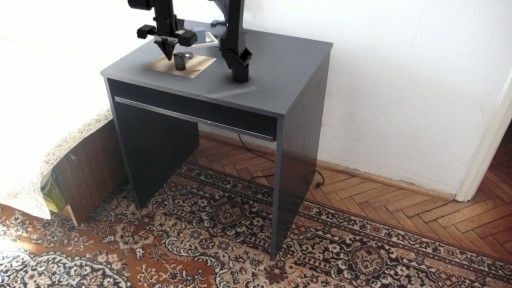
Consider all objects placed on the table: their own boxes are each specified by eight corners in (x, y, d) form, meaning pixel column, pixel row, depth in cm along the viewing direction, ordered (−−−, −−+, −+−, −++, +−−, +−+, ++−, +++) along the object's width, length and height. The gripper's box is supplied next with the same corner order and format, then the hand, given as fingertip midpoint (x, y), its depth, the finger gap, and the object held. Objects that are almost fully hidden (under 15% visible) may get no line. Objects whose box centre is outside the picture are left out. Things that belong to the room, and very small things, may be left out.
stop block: (206, 45, 136) (205, 29, 132) (196, 46, 135) (194, 31, 131) (203, 41, 139) (202, 26, 135) (193, 42, 138) (192, 27, 134)
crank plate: (217, 62, 125) (216, 58, 124) (193, 82, 113) (193, 77, 112) (171, 53, 130) (170, 49, 129) (144, 71, 119) (144, 67, 118)
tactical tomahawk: (225, 35, 148) (225, 33, 148) (217, 39, 143) (217, 36, 143) (185, 26, 156) (185, 24, 155) (176, 29, 151) (176, 27, 150)
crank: (182, 53, 126) (180, 40, 123) (194, 54, 126) (193, 40, 123) (173, 70, 116) (170, 56, 113) (186, 71, 116) (184, 56, 112)
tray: (218, 48, 135) (218, 42, 133) (189, 53, 131) (188, 46, 130) (210, 38, 143) (209, 32, 142) (182, 42, 140) (181, 35, 138)
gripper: (203, 9, 110) (206, 55, 120) (151, 1, 114) (157, 47, 124) (187, 20, 102) (191, 69, 112) (131, 11, 106) (140, 59, 116)
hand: (170, 60), depth 116 cm, fingers closed
